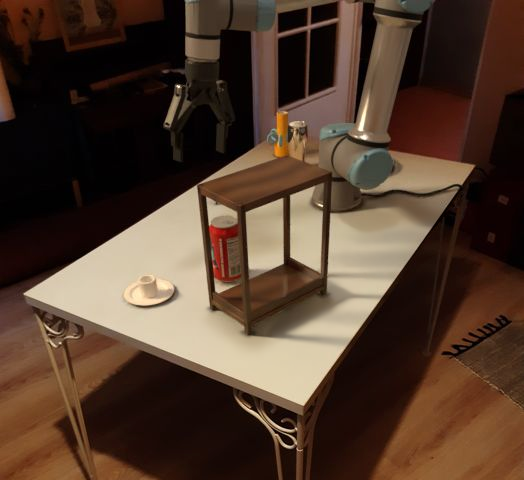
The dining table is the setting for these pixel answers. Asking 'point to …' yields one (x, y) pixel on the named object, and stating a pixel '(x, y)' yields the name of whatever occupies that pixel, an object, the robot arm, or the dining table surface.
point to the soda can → (225, 248)
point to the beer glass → (297, 139)
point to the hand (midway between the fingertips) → (200, 156)
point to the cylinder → (280, 135)
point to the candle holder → (148, 291)
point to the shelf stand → (291, 272)
